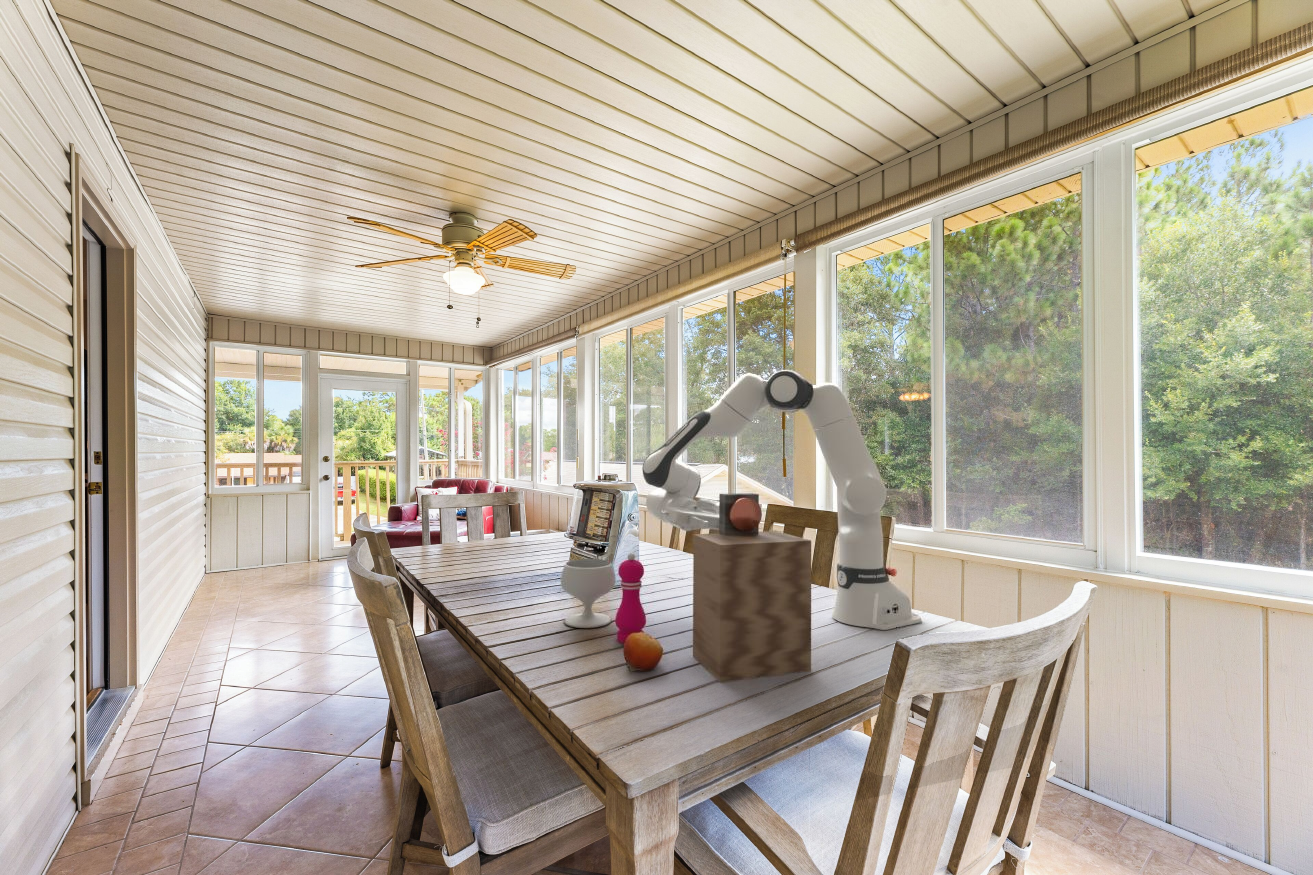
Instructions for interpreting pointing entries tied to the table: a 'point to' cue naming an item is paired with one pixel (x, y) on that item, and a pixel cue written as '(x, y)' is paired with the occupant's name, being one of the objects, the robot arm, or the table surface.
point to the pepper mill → (630, 599)
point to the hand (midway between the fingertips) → (719, 526)
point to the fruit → (642, 652)
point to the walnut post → (751, 600)
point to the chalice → (588, 589)
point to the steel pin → (736, 512)
